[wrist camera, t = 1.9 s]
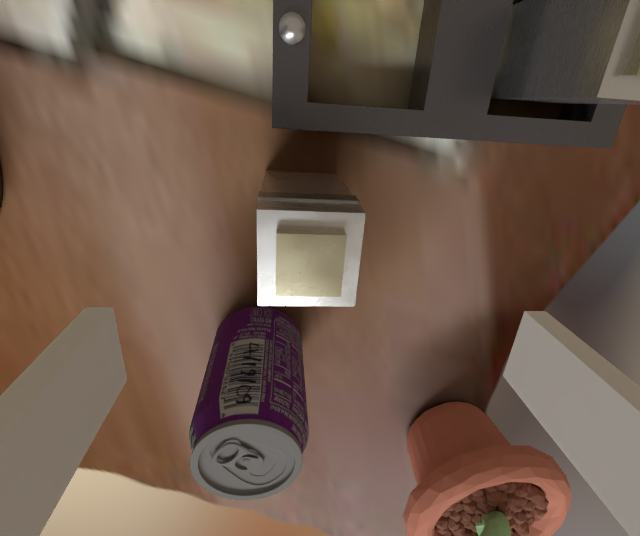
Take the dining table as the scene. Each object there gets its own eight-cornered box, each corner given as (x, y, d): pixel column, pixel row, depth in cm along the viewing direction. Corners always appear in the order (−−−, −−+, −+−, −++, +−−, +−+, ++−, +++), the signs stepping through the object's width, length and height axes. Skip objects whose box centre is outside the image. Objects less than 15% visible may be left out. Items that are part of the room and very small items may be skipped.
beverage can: (200, 345, 31) (156, 478, 20) (248, 285, 29) (228, 397, 18) (268, 382, 33) (262, 519, 22) (317, 329, 31) (336, 451, 21)
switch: (273, 124, 24) (267, 141, 15) (275, -70, 20) (269, -223, 11) (577, 143, 27) (742, 168, 17) (634, -27, 23) (893, -120, 13)
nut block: (264, 239, 28) (255, 313, 18) (265, 168, 25) (254, 210, 16) (331, 241, 28) (357, 314, 19) (337, 172, 26) (369, 214, 16)
